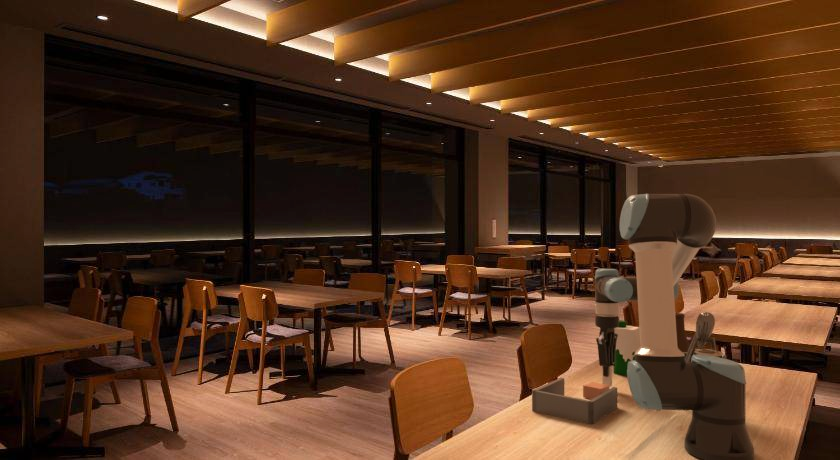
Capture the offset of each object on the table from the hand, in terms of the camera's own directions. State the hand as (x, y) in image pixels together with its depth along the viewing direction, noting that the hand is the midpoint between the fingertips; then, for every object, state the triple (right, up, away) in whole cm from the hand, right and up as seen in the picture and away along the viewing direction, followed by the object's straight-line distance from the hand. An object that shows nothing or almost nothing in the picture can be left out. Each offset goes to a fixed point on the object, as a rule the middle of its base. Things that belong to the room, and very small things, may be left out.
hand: (607, 385), depth 187 cm
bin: (-16, -2, -19) cm, 25 cm away
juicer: (+20, -1, -14) cm, 24 cm away
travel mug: (+22, -2, -23) cm, 32 cm away
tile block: (-6, -2, -7) cm, 9 cm away
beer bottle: (+30, -2, +13) cm, 33 cm away
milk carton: (+14, -2, +20) cm, 24 cm away
